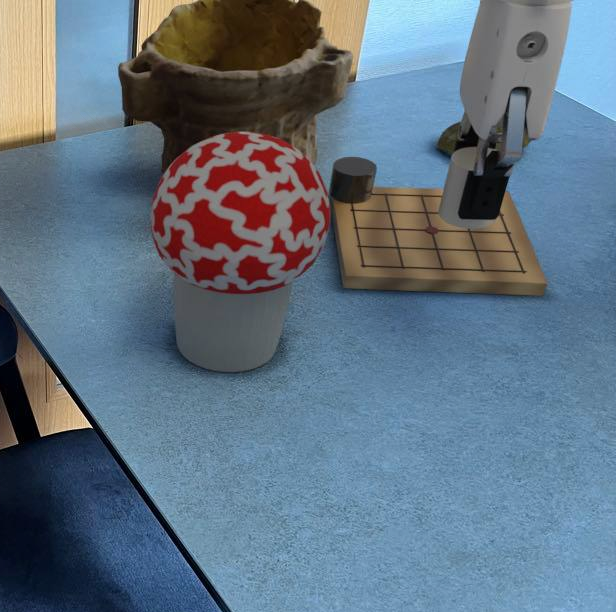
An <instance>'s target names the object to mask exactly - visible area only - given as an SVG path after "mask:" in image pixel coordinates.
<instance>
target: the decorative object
mask: <svg viewBox="0 0 616 612" xmlns="http://www.w3.org/2000/svg"><path fill="white" fill-rule="evenodd" d="M149 213H150V214H149V215H150V218H149V219H150V233H151V237H152V241H153V243H154V246H155V249H156V251H157V253H158V257H159V258H160V259H161V260H162V261H163V262H164V264H165V265H166V266H167V267H168V268H169V269H170V271H171V272H172V273H173V274H174V275H173V312H174V313H173V314H174V315H173V316H174V317H173V319H174V328H175V336H176V345H177V348H178V351H179V352H180V353H181V355H182V356H183V358H185V359H186V360H187V361H189V362H190V363H192V364H194V365H195V366H197V367H200V368H202V369H205V370H210V371H213V372H219V373H241V372H247V371H252V370H254V369H257V368H259V367H262V366H263V365H265V364H266V363H268V362H269V361H270V360H271V359H272V358H273V357H274V355H275V353H276V351H277V348H278V345H279V342H280V338H281V335H282V332H283V328H284V325H285V321H286V316H287V312H288V309H289V305H290V299H291V295H292V290H293V282H295V281H296V280H297V279H298V278H299V277H301V276H302V275H303V274H304V273H306V272H307V271H308V270H309V269H310V268H311V267H313V265H314V264H315V262H316V260H317V259H318V257H319V255H320V254H321V252H322V250H323V248H324V246H325V245H326V242H327V237H328V234H329V231H330V224H331V206H330V200H329V192H328V189H327V186H326V184H325V181H324V180H323V178H322V176H321V174H320V172H319V170H318V169H317V167H316V166H315V165H313V164H312V163H311V161H310V160H309V159H308V158H307V157H306V156H305V155H304V154H303V153H302V152H300V151H299V150H298V149H296V148H295V147H293V146H292V145H290V144H289V143H287V142H285V141H283V140H281V139H279V138H276V137H273V136H269V135H265V134H261V133H256V132H232V133H225V134H220V135H216V136H212V137H210V138H207V139H205V140H203V141H201V142H199V143H197V144H195V145H193V146H192V147H190V148H189V149H187V150H186V151H185V152H183V153H182V154H181V155H180V156H179V157H178V158H177V159H175V160H174V162H173V163H172V164H171V165H170V166H169V168H168V169H167V170H166V172H165V173H164V174H162V176H161V177H160V180H159V182H158V185H157V187H156V189H155V192H154V193H153V196H152V201H151V207H150V212H149Z"/></svg>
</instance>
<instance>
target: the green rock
mask: <svg viewBox="0 0 616 612" xmlns="http://www.w3.org/2000/svg"><path fill="white" fill-rule="evenodd" d="M460 123H461V121H458V122H455V123H453V124H451V125H449V126H448V127H447V128H446V129H444V131H442V133H441V134H440V136H439V139H438V140H437V143H436V148H437V149H438V150H439V151H441V152H443V153H446V154H447V155H449V156H451V157H452V154H453V152H454V148H455V144H456V140H462V141H464V139H459V138H458V131H459V126H460ZM502 131H503V126H498V127H497V129H496V132H495V133H502ZM531 142H533V141H532V140H530V139H529V138H528V136H527V134H526V132H525V130H524V132H523V144H522V152H523V151H524V149H525V148H526V147H528V146H529V145H530V143H531ZM500 145H501V143H496V146H495V150H498V148H499V147H500Z"/></svg>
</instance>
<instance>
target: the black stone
mask: <svg viewBox="0 0 616 612" xmlns="http://www.w3.org/2000/svg"><path fill="white" fill-rule="evenodd" d="M331 169H332V170H331V176H330V182H329V188H328V195H331V196H332V197H333V198H335V199H337V200H339V201H343V202H349V203H358V202H363V201H366V200H368V199H369V198H370V197H371V196H372V191H373V187H375V186H374V184H375V181H376V175H377V169H378V167H377V164H376V163H375V162H374V161H372V160H370V159H367V158H364V157H360V156H345V157H344V156H343V157H340V158H338V159H336V160H335V161H334V162H333V164H332V168H331Z"/></svg>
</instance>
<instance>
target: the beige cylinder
mask: <svg viewBox="0 0 616 612" xmlns="http://www.w3.org/2000/svg"><path fill="white" fill-rule="evenodd" d="M492 150H495V149H491V148H488V151H487V156H488V155H489V154H490V152H491V151H492ZM476 152H477V147H466V148H462V149H459V150H457V151H455V152H454V153H453V154H452V156H451V157H450V161H449V165H448V169H447V174H446V178H445V182H444V186H443V189H444V190H443V194H442V198H441V202H440V206H439V210H438V213H439V216H440V217H441V219H443V220H444V221H445V222H447V223H449V224H451V225H454V226H457V227H461V228H469V229H477V228H484V227H488V226H490V225H492V224H493V223H494V222H495V221H496V219H494V220H471V219H460V218H459V215H458V210H459V206H460V202H461V198H462V194H463V190H464V186H465V182H466V178H467V175H468V171H469V170H473V169H474V163H475V158H476Z"/></svg>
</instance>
